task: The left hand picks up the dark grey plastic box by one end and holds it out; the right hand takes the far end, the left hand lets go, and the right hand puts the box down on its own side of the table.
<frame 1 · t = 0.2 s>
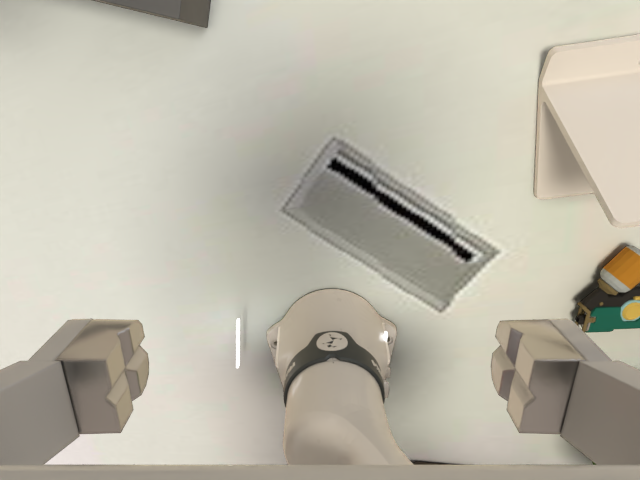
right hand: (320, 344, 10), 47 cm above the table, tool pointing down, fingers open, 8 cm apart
spray gun: (636, 289, 63), on the table
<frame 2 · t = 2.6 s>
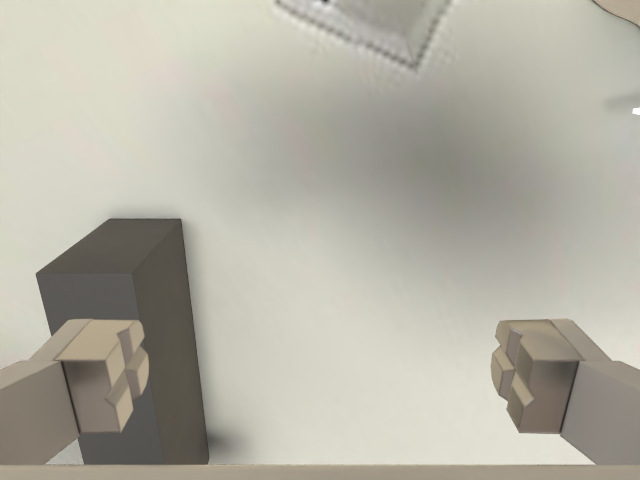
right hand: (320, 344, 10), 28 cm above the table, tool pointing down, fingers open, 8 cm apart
box: (164, 352, 44), on the table, touching left hand
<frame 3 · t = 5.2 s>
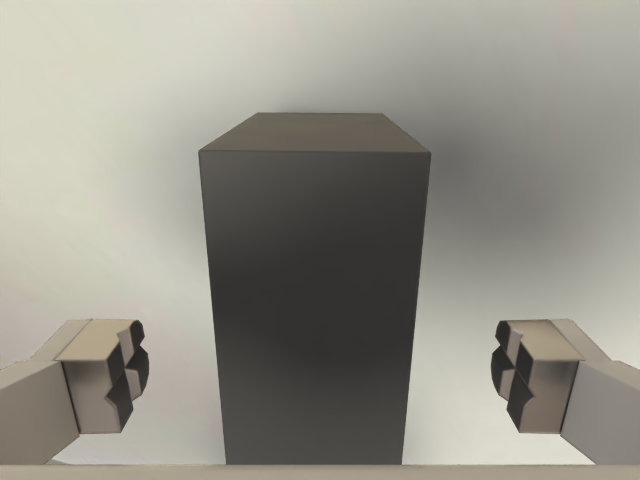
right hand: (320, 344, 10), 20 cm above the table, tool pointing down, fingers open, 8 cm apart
box: (318, 350, 27), point 6 cm above the table, touching left hand
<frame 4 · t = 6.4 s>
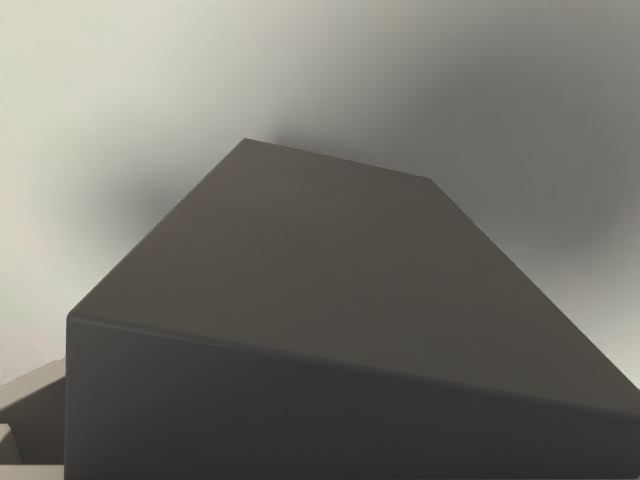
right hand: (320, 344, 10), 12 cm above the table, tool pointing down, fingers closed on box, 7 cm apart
box: (265, 469, 19), point 6 cm above the table, touching right hand, left hand
when the left hand's fingers open (13 cm above the table, at t = 7.8 s): box moves 2 cm, held by the right hand.
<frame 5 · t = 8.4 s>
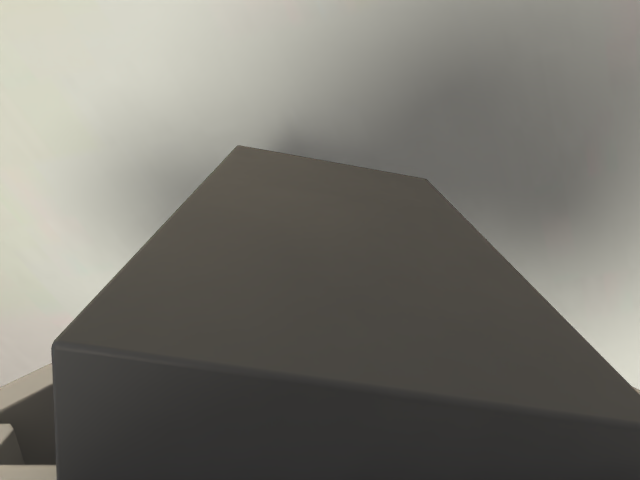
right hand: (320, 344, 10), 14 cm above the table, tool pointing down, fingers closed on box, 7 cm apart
box: (272, 475, 19), point 9 cm above the table, touching right hand, left hand
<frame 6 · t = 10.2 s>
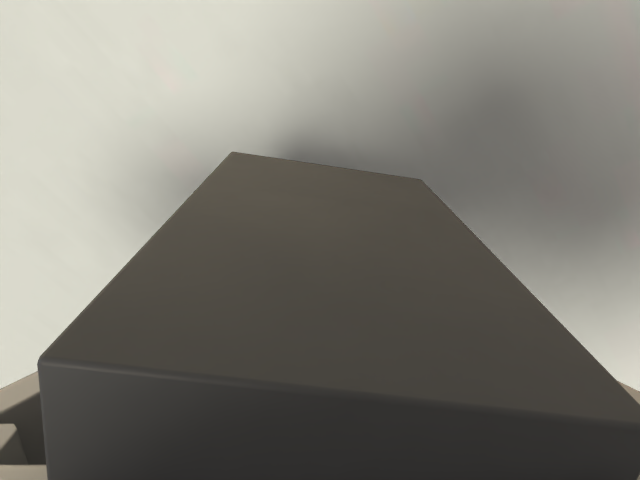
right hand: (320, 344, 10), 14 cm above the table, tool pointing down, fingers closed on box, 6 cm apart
box: (277, 479, 19), point 9 cm above the table, touching right hand
when the right hand's fingers open (7 cm above the table, at t = 13.9 s): box stays where it is, on the table.
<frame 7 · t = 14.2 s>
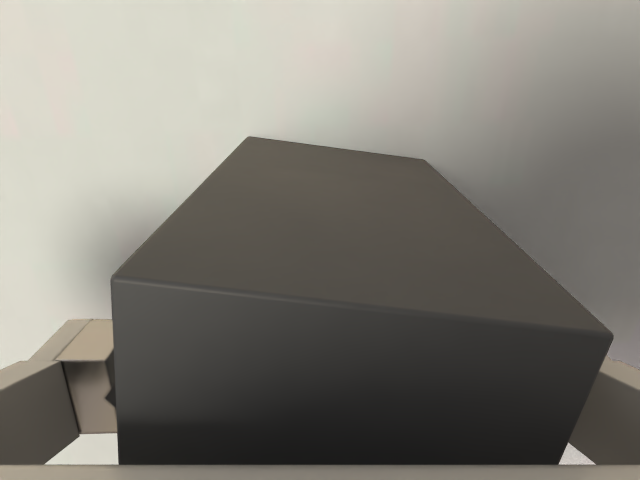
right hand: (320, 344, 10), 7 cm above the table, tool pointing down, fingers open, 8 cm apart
box: (293, 448, 21), on the table
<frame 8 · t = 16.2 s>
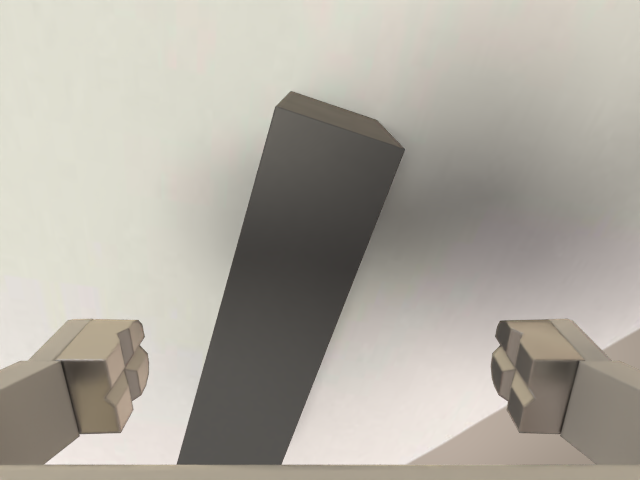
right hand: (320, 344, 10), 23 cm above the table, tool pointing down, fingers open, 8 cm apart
box: (278, 279, 35), on the table
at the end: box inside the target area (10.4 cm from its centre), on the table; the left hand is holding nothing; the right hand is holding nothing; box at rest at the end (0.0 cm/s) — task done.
